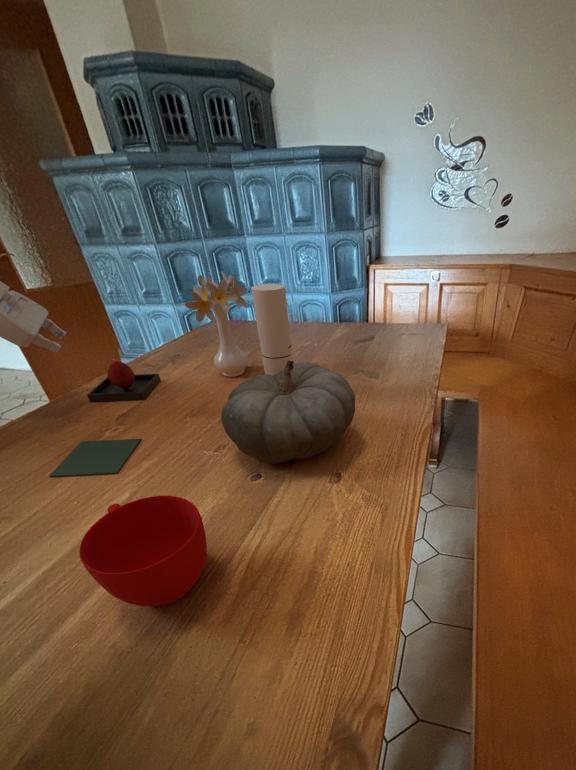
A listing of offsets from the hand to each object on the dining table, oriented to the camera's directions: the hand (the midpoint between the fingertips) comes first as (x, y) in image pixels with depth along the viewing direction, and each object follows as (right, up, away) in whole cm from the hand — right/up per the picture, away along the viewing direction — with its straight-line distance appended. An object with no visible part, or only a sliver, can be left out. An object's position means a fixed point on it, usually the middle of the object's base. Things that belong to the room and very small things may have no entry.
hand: (62, 343), depth 89 cm
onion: (+8, -8, +11) cm, 16 cm away
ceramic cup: (+42, -45, -37) cm, 72 cm away
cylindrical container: (+50, -11, +8) cm, 52 cm away
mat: (+18, -28, -14) cm, 36 cm away
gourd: (+56, -25, -11) cm, 62 cm away
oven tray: (+8, -9, +11) cm, 16 cm away
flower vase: (+34, -2, +20) cm, 39 cm away
